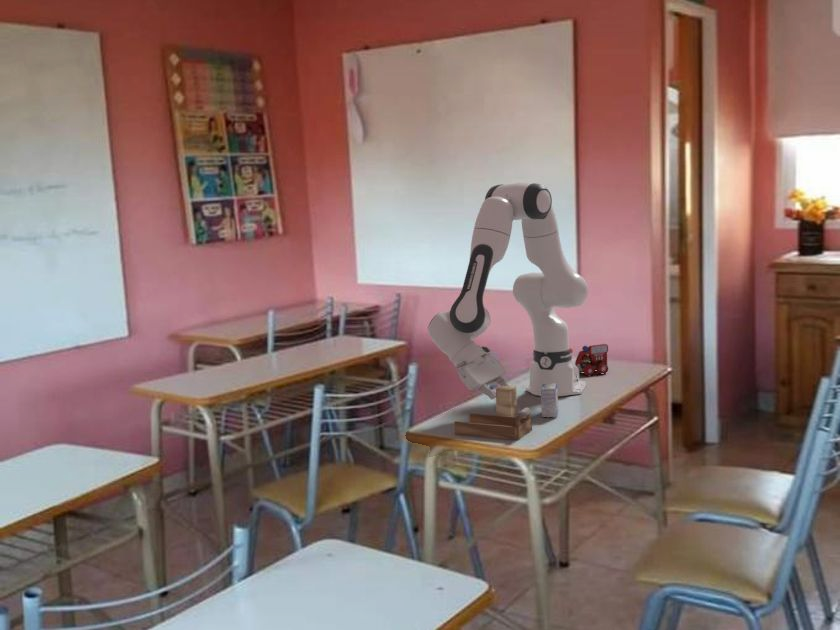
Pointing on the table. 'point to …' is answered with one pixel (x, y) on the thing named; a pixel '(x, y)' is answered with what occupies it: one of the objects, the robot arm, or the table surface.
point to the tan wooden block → (506, 401)
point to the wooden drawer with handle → (496, 425)
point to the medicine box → (549, 400)
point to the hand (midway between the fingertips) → (501, 394)
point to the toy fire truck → (592, 359)
